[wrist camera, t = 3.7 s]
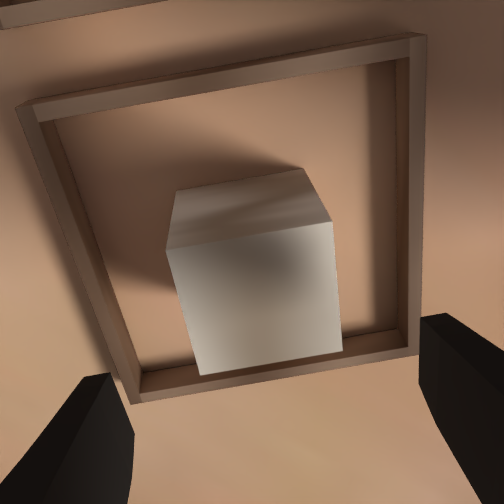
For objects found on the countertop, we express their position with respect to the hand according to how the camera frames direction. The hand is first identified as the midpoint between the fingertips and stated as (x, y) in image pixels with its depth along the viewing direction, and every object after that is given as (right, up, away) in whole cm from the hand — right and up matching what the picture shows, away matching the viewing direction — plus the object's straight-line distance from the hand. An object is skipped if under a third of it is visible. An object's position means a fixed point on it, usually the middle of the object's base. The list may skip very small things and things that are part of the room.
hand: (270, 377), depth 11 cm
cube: (-1, +4, +7) cm, 8 cm away
